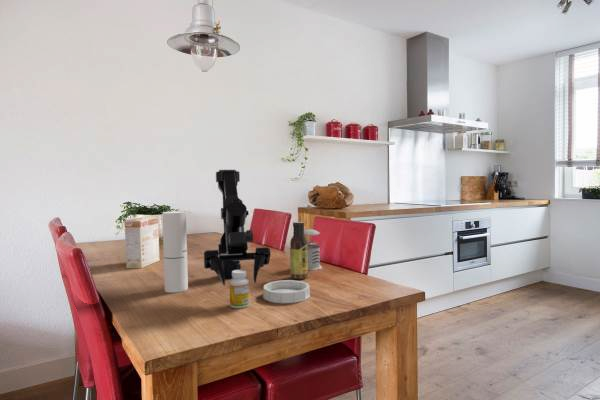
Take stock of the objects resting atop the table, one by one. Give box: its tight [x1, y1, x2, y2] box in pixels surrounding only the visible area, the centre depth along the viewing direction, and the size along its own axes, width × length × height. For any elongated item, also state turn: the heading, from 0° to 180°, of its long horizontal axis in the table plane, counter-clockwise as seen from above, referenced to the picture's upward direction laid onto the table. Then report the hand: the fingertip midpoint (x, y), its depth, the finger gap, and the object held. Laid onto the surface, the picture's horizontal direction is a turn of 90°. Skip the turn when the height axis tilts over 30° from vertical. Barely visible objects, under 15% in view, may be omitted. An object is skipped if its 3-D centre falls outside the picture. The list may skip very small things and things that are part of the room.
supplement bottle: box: [229, 269, 250, 309], centre depth 108 cm, size 5×5×10 cm
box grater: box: [304, 204, 323, 271], centre depth 152 cm, size 10×12×25 cm
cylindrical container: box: [162, 210, 189, 294], centre depth 124 cm, size 7×7×25 cm
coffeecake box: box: [123, 216, 160, 269], centre depth 162 cm, size 15×7×20 cm, turn 172°
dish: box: [262, 279, 311, 304], centre depth 116 cm, size 14×14×3 cm
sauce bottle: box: [289, 221, 309, 280], centre depth 137 cm, size 7×6×20 cm
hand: (239, 283), depth 106 cm, fingers open, 8 cm apart
